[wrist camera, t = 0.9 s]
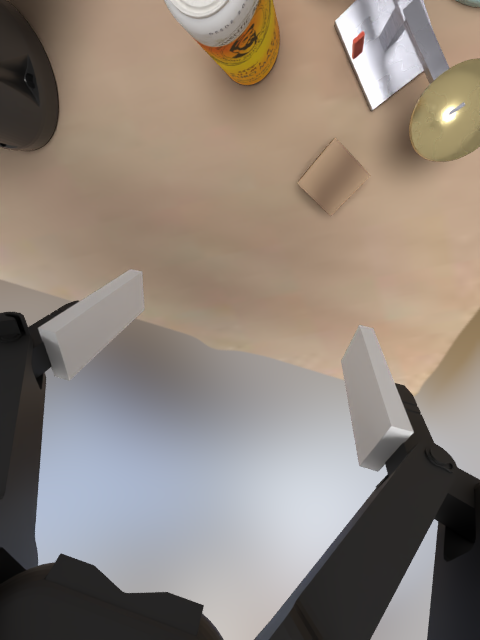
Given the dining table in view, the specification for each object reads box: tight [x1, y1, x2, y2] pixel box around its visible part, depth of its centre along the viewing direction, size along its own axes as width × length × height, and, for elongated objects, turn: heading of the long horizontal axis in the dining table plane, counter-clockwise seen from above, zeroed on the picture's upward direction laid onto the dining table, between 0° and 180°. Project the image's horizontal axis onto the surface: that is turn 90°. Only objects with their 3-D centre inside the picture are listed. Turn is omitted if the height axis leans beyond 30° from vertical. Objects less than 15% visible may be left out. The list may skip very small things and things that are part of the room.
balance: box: [334, 0, 480, 162], centre depth 21 cm, size 22×7×9 cm, turn 36°
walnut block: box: [297, 138, 371, 216], centre depth 28 cm, size 5×5×5 cm
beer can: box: [164, 0, 280, 85], centre depth 20 cm, size 6×6×15 cm
